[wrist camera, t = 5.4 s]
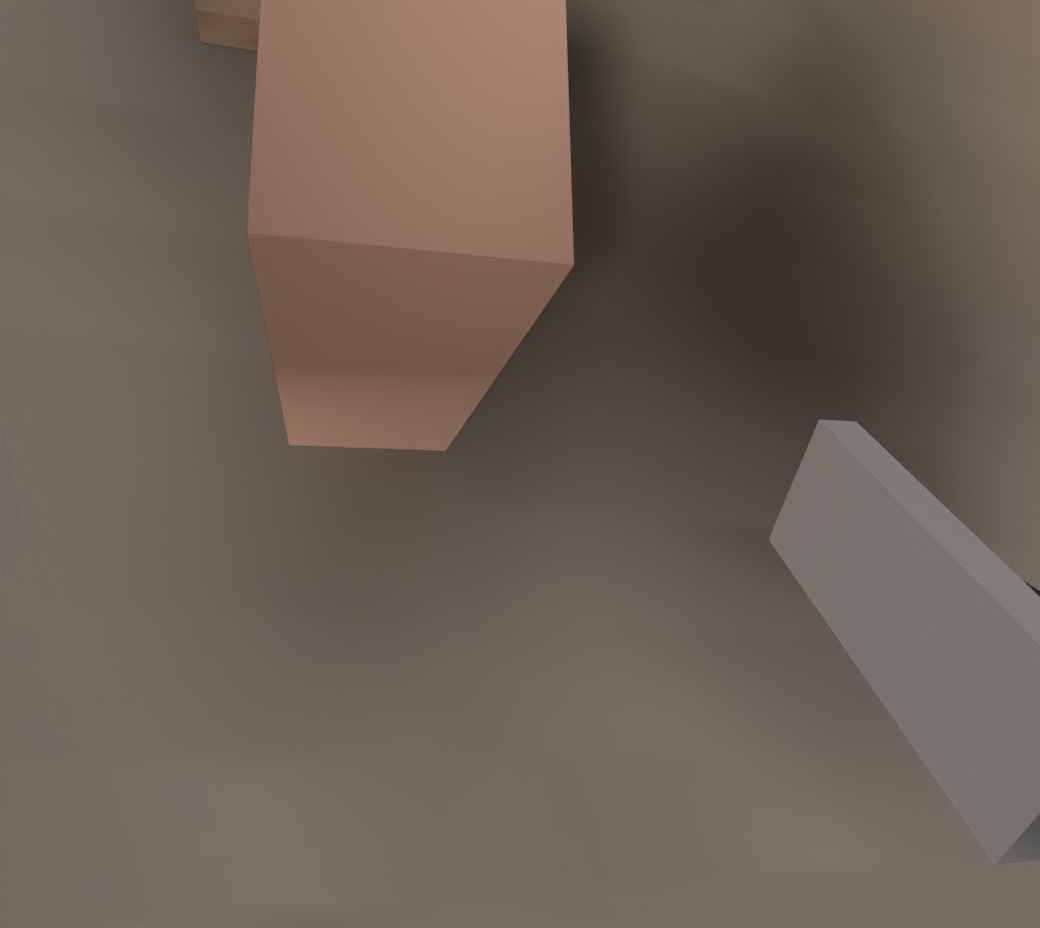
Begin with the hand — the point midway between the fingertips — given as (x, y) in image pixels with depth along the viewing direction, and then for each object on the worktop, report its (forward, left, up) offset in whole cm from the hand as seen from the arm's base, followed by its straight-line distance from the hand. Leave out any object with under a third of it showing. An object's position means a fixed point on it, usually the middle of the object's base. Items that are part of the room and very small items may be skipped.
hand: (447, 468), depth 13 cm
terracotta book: (-1, +7, -12) cm, 14 cm away
